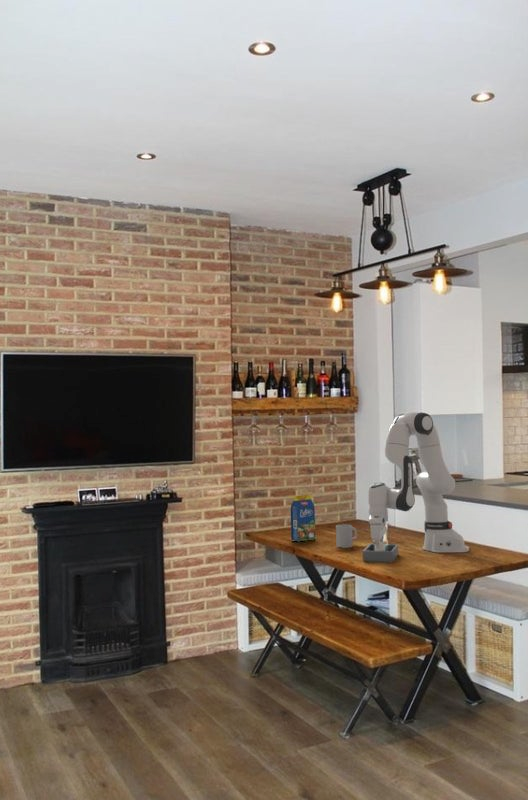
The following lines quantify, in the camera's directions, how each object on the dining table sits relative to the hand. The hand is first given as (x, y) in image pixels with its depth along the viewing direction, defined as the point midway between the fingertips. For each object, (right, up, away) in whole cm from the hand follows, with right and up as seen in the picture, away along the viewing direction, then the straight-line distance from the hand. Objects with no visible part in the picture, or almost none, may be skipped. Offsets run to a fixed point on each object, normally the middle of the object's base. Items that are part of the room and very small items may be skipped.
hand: (379, 546), depth 350 cm
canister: (0, -6, 0) cm, 6 cm away
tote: (+1, -6, +4) cm, 7 cm away
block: (+3, -6, +8) cm, 10 cm away
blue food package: (-33, -8, +56) cm, 66 cm away
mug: (-11, -7, +36) cm, 39 cm away
